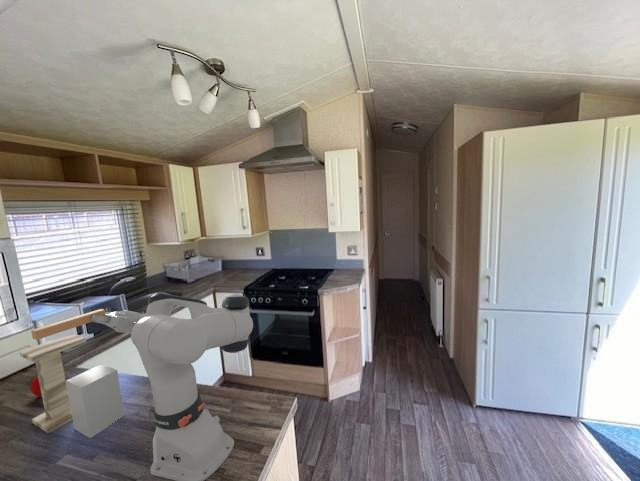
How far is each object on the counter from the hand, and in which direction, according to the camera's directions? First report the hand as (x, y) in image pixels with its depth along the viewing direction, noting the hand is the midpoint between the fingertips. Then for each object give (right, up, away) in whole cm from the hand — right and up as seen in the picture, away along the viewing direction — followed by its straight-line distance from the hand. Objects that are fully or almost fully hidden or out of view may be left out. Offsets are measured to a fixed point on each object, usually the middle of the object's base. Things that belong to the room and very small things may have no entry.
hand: (88, 316), depth 104 cm
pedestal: (+14, -33, -12) cm, 37 cm away
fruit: (-22, -33, +7) cm, 40 cm away
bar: (-2, -3, -4) cm, 6 cm away
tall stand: (-3, -33, -6) cm, 34 cm away
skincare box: (-42, -32, +28) cm, 59 cm away
